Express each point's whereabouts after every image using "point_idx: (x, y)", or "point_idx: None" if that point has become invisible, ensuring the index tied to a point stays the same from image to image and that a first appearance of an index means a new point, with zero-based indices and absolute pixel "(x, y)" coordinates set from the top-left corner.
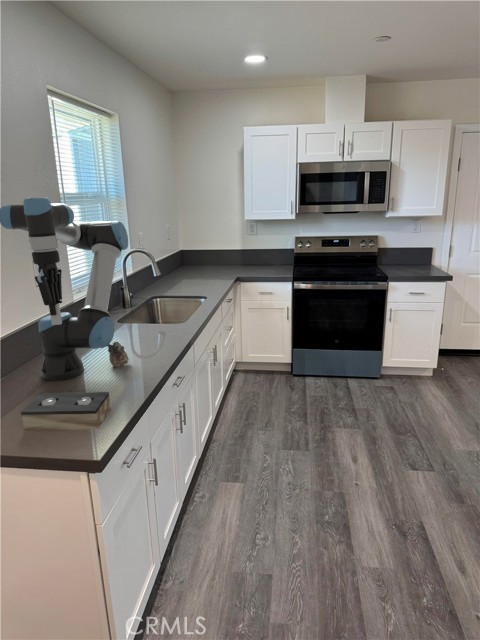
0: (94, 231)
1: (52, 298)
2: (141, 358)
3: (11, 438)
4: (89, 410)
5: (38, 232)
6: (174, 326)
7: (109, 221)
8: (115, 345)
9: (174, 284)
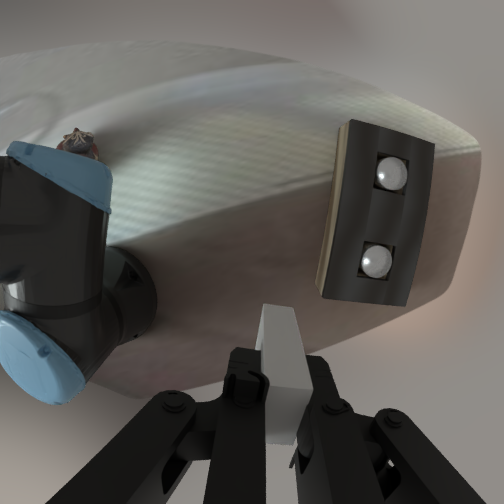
0: None
1: (363, 456)
2: (60, 119)
3: (408, 303)
4: (433, 156)
5: None
6: None
7: None
8: (83, 142)
9: None
